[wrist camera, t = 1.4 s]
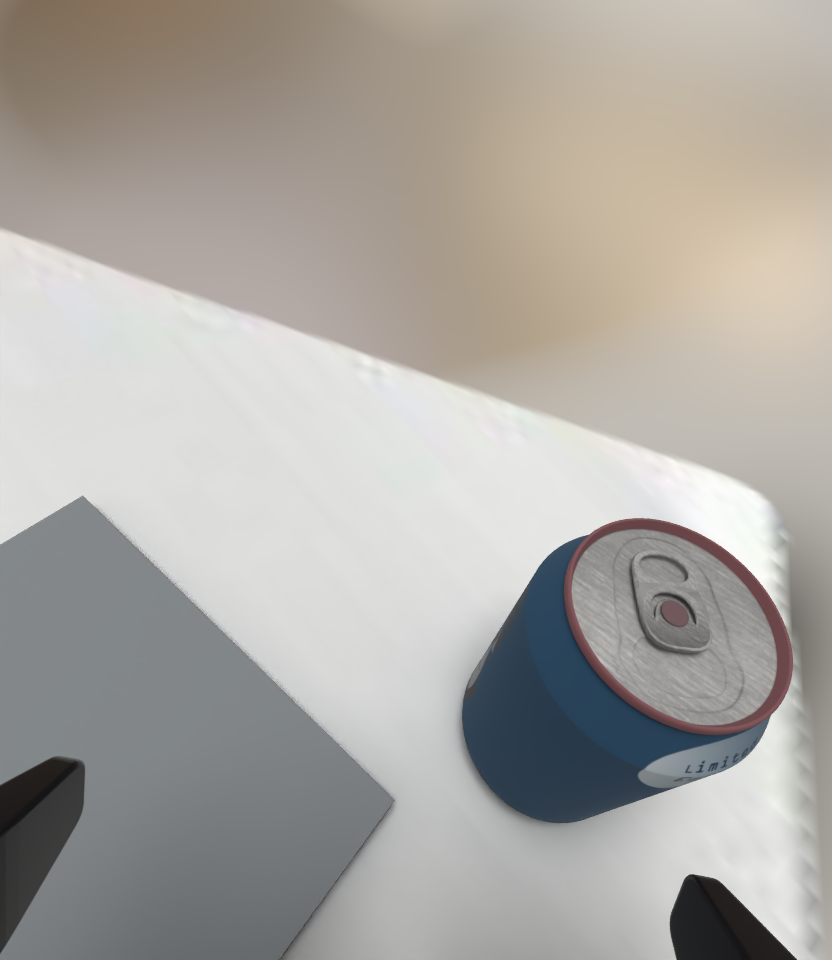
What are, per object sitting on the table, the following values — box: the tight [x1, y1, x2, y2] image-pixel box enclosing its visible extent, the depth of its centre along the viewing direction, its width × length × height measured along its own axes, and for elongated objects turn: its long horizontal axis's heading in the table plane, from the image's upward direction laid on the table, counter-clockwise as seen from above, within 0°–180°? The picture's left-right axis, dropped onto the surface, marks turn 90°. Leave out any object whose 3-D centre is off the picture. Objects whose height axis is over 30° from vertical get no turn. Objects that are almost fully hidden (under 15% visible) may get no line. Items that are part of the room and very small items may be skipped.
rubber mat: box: [0, 496, 394, 960], centre depth 19 cm, size 20×14×1 cm
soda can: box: [462, 518, 793, 823], centre depth 18 cm, size 7×7×12 cm
